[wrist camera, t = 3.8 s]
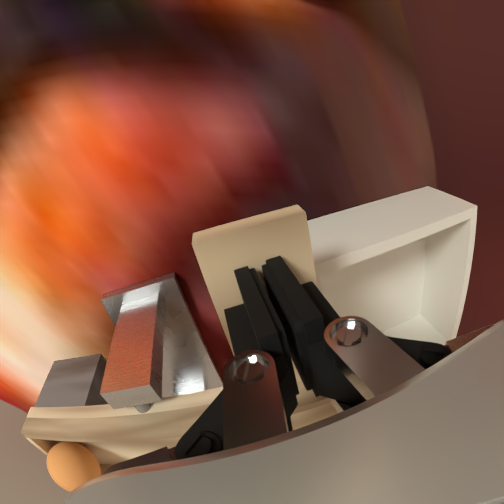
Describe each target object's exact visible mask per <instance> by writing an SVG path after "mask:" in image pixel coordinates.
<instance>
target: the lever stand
mask: <svg viewBox="0 0 504 504" xmlns="http://www.w3.org/2000/svg"><path fill="white" fill-rule="evenodd" d="M101 301H102V303H103V305H104V307H105V309H106V310H107V312H108V314H109V316H110V317H111V319H112V321H113V323H114V324H115V326H116V327H115V331H114V335H113V339H112V343H111V347H110V351H109V355H108V359H107V363H106V367H105V372H104V376H103V381H102V386H101V390H100V395H101V396H102V397H103V398H104V399H105V400H106V402H107V403H108V404H109V405H110V406H111V407H112V408H113V409H119V408H126V407H132V406H138V405H143V404H149V403H154V402H159V401H162V397H163V398H164V397H170V396H177V395H183V394H188V393H194V392H199V391H204V390H209V389H214V388H219V387H223V380H222V378H221V376H220V373H219V371H218V369H217V367H216V365H215V363H214V361H213V359H212V357H211V355H210V353H209V351H208V348H207V346H206V344H205V342H204V340H203V338H202V335H201V333H200V331H199V329H198V327H197V324H196V322H195V320H194V318H193V315H192V313H191V311H190V308H189V306H188V304H187V301H186V299H185V297H184V294H183V292H182V290H181V287H180V285H179V282H178V280H177V278H176V275H175V273H174V272H173V273H170V274H167V275H164V276H160V277H157V278H154V279H151V280H148V281H144V282H141V283H138V284H135V285H131V286H128V287H125V288H122V289H119V290H115V291H112V292H109V293H106V294H103V296H102V298H101Z"/></svg>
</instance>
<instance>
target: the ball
mask: <svg viewBox="0 0 504 504" xmlns="http://www.w3.org/2000/svg"><path fill="white" fill-rule="evenodd" d="M47 467H48V471H49V473H50V475H51V477H52V478H53V480H54V481H55V482H56V483H57V484H58V485H59V486H61V487H62V488H64V489H65V490H67V491H70V492H72V491H73V490H74V489H75V488H77V487H78V486H80V485H82V484H83V483H85V482H87V481H89V480H92V479H94V478H96V477H99V476H101V469H100V465H99V462H98V460H97V459H96V457H95V456H94V455H93V453H92V452H91V451H90V450H89V449H87V448H86V447H84V446H83V445H81V444H78V443H75V442H68V441H66V442H61V443H58V444H56V445H54V446H53V447H52V448H51V449H50V451H49V453H48V456H47Z"/></svg>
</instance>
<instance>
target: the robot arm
mask: <svg viewBox="0 0 504 504" xmlns="http://www.w3.org/2000/svg"><path fill="white" fill-rule="evenodd" d="M262 271H263V275H264V279H265V283H266V287H267V291H268V294H269V297H268V295H267V292H266V290H265V288H264V286H263V284H262V282H261V280H260V278H259V276H258V274H257V272H256V270H255V268H252V269H249V268H248V266H245V267H242V268H239V269H236V270H234V273H235V277H236V280H237V283H238V286H239V290H240V293H241V296H242V299H243V302H244V303H243V304H240V305H237V306H233V307H230V308H227V309H224V313H225V317H226V322H227V326H228V330H229V334H230V339H231V343H232V347H233V351H234V355H235V356H233V357H232V358H231V359H230V360H229V361H228V362H227V364H226V365H225V367H224V371H223V390H222V391H221V392H220V393H219V395H218V396H217V397H216V398H215V399H214V401H213V402H212V403H211V404H210V405H209V406H208V408H207V409H206V410H205V411H204V412H203V413H202V415H201V416H200V417H199V418H198V419H197V420H196V421H195V423H194V424H193V425H192V426H191V427H190V428H189V429H188V430H187V432H186V433H185V434H184V435H183V436H182V437H181V438H180V440H179V441H178V443H177V445H176V446H175V447H172V448H170V449H169V448H168V447H167V446H166V447H163V448H161V449H158V450H155V451H152V452H150V453H147V454H144V455H141V456H138V457H135V458H132V459H129V460H126V461H123V462H120V463H117V464H114V465H112V466H110V467H109V468H108V469H107V470H106V471H105V472H104V474H103V475H101V476H99V477H96V478H94V479H92V480H89V481H87V482H85V483H83V484H82V485H80V486H78V487H77V488H75V489H74V490H73V491H72V492H71V493H70V494H69V495H68V497H67V498H66V500H65V502H64V504H504V320H502V321H500V322H498V323H496V324H495V325H489V326H486V327H484V328H481V329H478V330H476V331H473V332H471V333H468V334H465V335H463V336H460V337H458V338H454V339H452V340H449V341H446V344H445V345H442V344H439V343H434V342H426V341H418V340H410V339H402V338H395V337H388V336H386V335H384V334H383V333H382V332H381V331H380V330H378V329H377V328H376V327H375V326H374V325H373V324H371V323H370V322H369V321H367V320H366V319H364V318H361V317H358V316H345V317H341V318H340V316H339V315H338V314H337V312H336V311H335V310H334V309H333V307H332V306H331V305H330V303H329V302H328V301H327V300H326V298H325V297H324V296H323V294H322V293H321V292H320V291H319V289H318V288H317V287H316V285H315V284H314V283H313V282H312V281H310V282H307V283H304V284H300V283H299V281H298V280H297V278H296V277H295V276H294V274H293V273H292V271H291V270H290V269H289V267H288V266H287V264H286V263H285V262H284V260H283V259H282V257H281V256H277V257H274V258H270V259H267V260H266V264H264V265H262ZM269 298H270V299H269ZM291 358H292V359H291ZM292 361H293V363H294V365H295V367H296V369H297V371H298V374H299V376H300V378H301V380H302V382H303V384H304V386H305V389H306V390H307V391H309V390H313V392H314V394H315V396H316V397H318V396H323V397H327V398H330V399H331V402H332V404H333V406H334V407H335V409H336V410H337V411H338V414H335V415H333V416H331V417H328V418H326V419H323V420H320V421H318V422H315V423H313V424H310V425H307V426H304V427H302V428H299V429H296V430H293V425H292V420H291V415H292V413H293V412H294V410H295V408H296V407H297V405H298V402H297V398H296V395H298V394H299V390H298V385H297V381H296V376H295V372H294V368H293V363H292Z"/></svg>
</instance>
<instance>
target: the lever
mask: <svg viewBox="0 0 504 504" xmlns="http://www.w3.org/2000/svg"><path fill="white" fill-rule="evenodd" d="M192 246H193V249H194V252H195V255H196V257H197V260H198V263H199V266H200V269H201V271H202V274H203V277H204V280H205V282H206V285H207V288H208V290H209V293H210V296H211V298H212V301H213V304H214V306H215V309H216V312H217V314H218V317H219V319H220V322H221V325H222V327H223V330H224V332H225V335H226V337H227V340H228V342H229V345H230V347H231V350H232V352H233V355H234V351H233V347H232V343H231V339H230V334H229V330H228V326H227V322H226V317H225V313H224V309H227V308H230V307H233V306H237V305H240V304H243V303H244V302H243V299H242V296H241V293H240V290H239V286H238V283H237V280H236V277H235V273H234V270H236V269H239V268H242V267H245V266H248V268H249V269H252V268H255V270H256V272H257V274H258V276H259V278H260V280H261V282H262V284H263V286H264V288H265V290H266V292H267V295H268V297H269V294H268V291H267V287H266V283H265V279H264V275H263V271H262V265H264V264H266V260H267V259H270V258H274V257H277V256H281V257H282V259H283V260H284V262H285V263H286V264H287V266H288V267H289V269H290V270H291V271H292V273H293V274H294V276H295V277H296V278H297V280H298V281H299V283H300V284H304V283H307V282H310V281H312V282H313V283H314V284H315V285H316V287H317V280H316V273H315V266H314V260H313V253H312V247H311V241H310V235H309V229H308V223H307V217H306V212H305V211H304V210H303V209H302V208H301V207H300V206H299V205H294V206H291V207H287V208H283V209H279V210H275V211H271V212H268V213H264V214H260V215H256V216H253V217H249V218H245V219H242V220H238V221H234V222H231V223H227V224H224V225H220V226H216V227H213V228H209V229H206V230H202V231H199V232H195V233H193V238H192ZM317 288H318V287H317ZM269 299H270V298H269ZM388 337H389V335H388ZM234 356H235V355H234ZM291 359H292V358H291ZM106 363H107V362H106V360H105V359H104V357H103V356H102V354H97V355H91V356H85V357H79V358H72V359H66V360H59V361H54V363H53V365H52V368H51V370H50V372H49V374H48V376H47V379H46V381H45V383H44V386H43V388H42V390H41V393H40V395H39V398H38V400H37V403H36V405H35V407H30V410H29V412H28V415H27V418H26V420H25V423H24V426H23V428H22V431H21V434H22V435H23V436H24V437H25V438H27V439H28V440H29V441H30V442H31V443H32V444H34V445H35V446H36V447H37V448H38V449H40V450H41V451H42V452H43V453H44V454H46V455H47V456H48V453H49V451H50V449H51V448H52V447H53V446H54V445H56V444H58V443H61V442H66V441H68V442H75V443H78V444H81V445H83V446H84V447H86V448H87V449H89V450H90V451H91V452H92V453H93V455H94V456H95V457H96V459H97V460H98V462H99V465H100V469H101V475H103V474H104V472H105V471H106V470H107V469H108V468H109V467H110V466H112V465H114V464H117V463H120V462H123V461H126V460H129V459H132V458H135V457H138V456H141V455H144V454H147V453H150V452H152V451H155V450H158V449H161V448H163V447H166V446H167V447H168V448H169V449H170V448H172V447H175V446H176V445H177V443H178V441H179V440H180V438H181V437H182V436H183V435H184V434H185V433H186V432H187V430H188V429H189V428H190V427H191V426H192V425H193V424H194V423H195V421H196V420H197V419H198V418H199V417H200V416H201V415H202V413H203V412H204V411H205V410H206V409H207V408H208V406H209V405H210V404H211V403H212V402H213V401H214V399H215V398H216V397H217V396H218V395H219V393H220V392H221V391H222V390H223V387H219V388H214V389H209V390H204V391H199V392H194V393H188V394H183V395H177V396H170V397H164V398H162V401H159V402H154V403H149V404H143V405H138V406H132V407H126V408H119V409H113V408H112V407H111V406H110V405H109V404H108V403H107V402H106V400H105V399H104V398H103V397H102V396H101V395H100V390H101V386H102V381H103V376H104V372H105V367H106ZM292 363H293V361H292ZM293 368H294V372H295V376H296V381H297V385H298V390H299V394H298V395H296V398H297V402H298V405H297V407H296V408H295V410H294V412H293V413H292V415H291V420H292V425H293V430H296V429H299V428H302V427H304V426H307V425H310V424H313V423H315V422H318V421H320V420H323V419H326V418H328V417H331V416H333V415H335V414H338V411H337V410H336V409H335V407H334V406H333V404H332V402H331V399H330V398H327V397H323V396H318V397H316V396H315V394H314V392H313V390H309V391H307V390H306V389H305V386H304V384H303V382H302V380H301V378H300V376H299V374H298V371H297V369H296V367H295V365H294V363H293Z"/></svg>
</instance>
